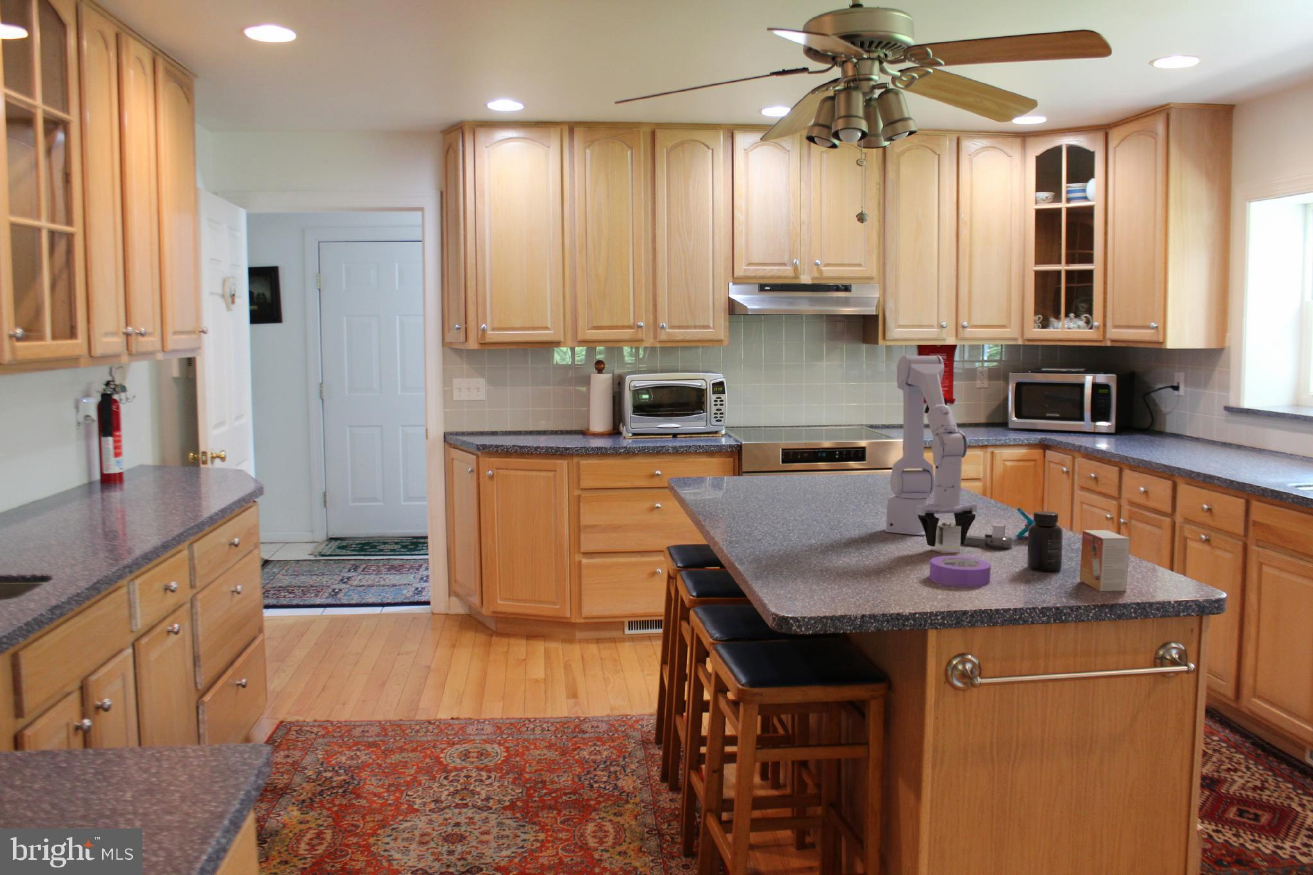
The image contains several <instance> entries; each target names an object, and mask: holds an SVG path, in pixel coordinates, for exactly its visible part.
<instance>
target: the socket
mask: <svg viewBox="0 0 1313 875" xmlns="http://www.w3.org/2000/svg"><path fill="white" fill-rule="evenodd" d="M960 541H961V526H959V525H956V523H952V522H947V521H946V522H944V521H943V522H938V525H937V530H936V543H935V546H934V547H932V546H930V549H931V550H932V551H935V552H938V553H940V554H954V553H955V554H956V553H961V545H960Z"/></svg>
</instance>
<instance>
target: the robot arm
mask: <svg viewBox="0 0 1313 875" xmlns="http://www.w3.org/2000/svg"><path fill="white" fill-rule="evenodd" d="M944 372H945V364H944V360H943V358H942V357H941V356H940V355H938V354H936V355H907V354H903V355H901V357H900V358H899V359H898V362H897V364H896V383H897V388H898V389H899V390H901V391H902V395H903V396H902V398H903V399H902V400H903V401H902V402H903V404H902V405H903V406H902V407H903V418H902V420H903V424H902V425H903V430H902V431H903V432H902V433H903V434H902V435H903V436H902V437H903V440H902V441H903V447H902V448H903V450H902V451H903V455H902V457H901V458H900V459H898V460H897V461H896V462H894V464H892V467H891V474H890V479H889V484H890V490H891V493H893V495H890V496H888V498H887V499H888V500H887V503H886V526H885V527H886V529H885V532H886V533H892V534H893V533H894V534H902V535H903V534H905V535H914V536H915V535H917V536H925V538H926V540H925V541H926V545H927V546H928V547H929V546H930V547H931V546H932V547H934V546H935V543H936V530H937V525H938V523H940V518H939V517H937V516H936V515H939V514H943V515H944V514H953V515H954V517H953V518H954V521H955V523H954V524H956V525H959V526H961V541H960V544H961V545H960V546H962V544H964V542H965V538H966V535H968V532H969V530H970V528H971V526H972V524H973V522H974V521H975V520H976V514H975V513H977V510H978V508H977V507H978V504H977V503H974V502H961V495H962V494H961V493H962V492H961V489H962V471H963V470H962V466H963V464H962V463H963V458H964V457H966V455H967V452H968V440H967V436H966V434H965V433H964V432H962V430H961V429H960V428H958V426H957V422H956V419H955V417H954V413H953V411H952V410H953V409H952V408H951V407H950V406H948V405H946V403H945V397H944V393H943V388H942V385H941V384H942V380H943V377H944ZM924 401H925V402H926V405H927V406H928V408H929V411H928V412H927V414H926V418H927V422H928V425H929V428H930V431H931V435H932V442H931V452H932V457H933V458H932V460H933V461H932V462H933V463H931V462H930V461H929V460H927V459H926V458H925V457H924V456H925V454H924V453H925V452H924V451H925V450H924V448H925V447H924V446H925V445H924V443H925V439H924V436H925V430H924V429H925V426H924V424H925V422H924V421H925V420H924V419H925V416H924V415H925V414H924V412H925V410H924V408H925V406H924V405H925V404H924ZM934 466H935V467H934ZM934 468H935V469H934ZM911 469H913V470H911ZM914 469H915V470H914ZM932 494H934V495H933V503H929V504H928V498H931V495H932Z"/></svg>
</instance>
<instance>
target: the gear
mask: <svg viewBox="0 0 1313 875" xmlns="http://www.w3.org/2000/svg"><path fill="white" fill-rule="evenodd" d="M1016 511H1017V512H1018V513H1019V514H1020V515H1021V516H1022V517H1023V518H1024V519H1025V521H1026V522H1025V524H1024V525H1023V526H1024V528H1022V529H1021V530H1020V531H1019V532H1018V533H1017V534H1015V537H1017V539H1018V538H1019V539H1021V538H1022V537H1023V536H1024V535H1025V534H1026V533H1028V529H1029V527H1030V526H1031V525H1032V524H1034V523H1035V521H1033V519H1031V518H1030V517H1029V515H1028V514H1026V512H1024V511H1023V509H1022V508H1020V507H1018V508H1017V509H1016Z"/></svg>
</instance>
